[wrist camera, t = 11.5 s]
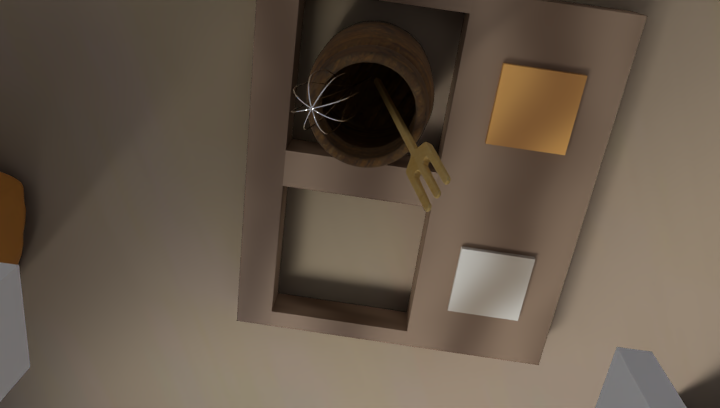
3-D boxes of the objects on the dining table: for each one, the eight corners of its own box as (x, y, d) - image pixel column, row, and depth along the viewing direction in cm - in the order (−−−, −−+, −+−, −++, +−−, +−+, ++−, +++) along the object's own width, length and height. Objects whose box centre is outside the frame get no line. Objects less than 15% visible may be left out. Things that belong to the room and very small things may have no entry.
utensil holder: (351, -6, 30) (323, 28, 19) (458, 60, 31) (488, 127, 20) (297, 95, 33) (243, 177, 22) (398, 153, 33) (396, 260, 23)
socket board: (244, 302, 38) (235, 323, 36) (267, -42, 30) (257, -41, 28) (531, 344, 38) (539, 368, 36) (632, 11, 30) (649, 17, 28)
